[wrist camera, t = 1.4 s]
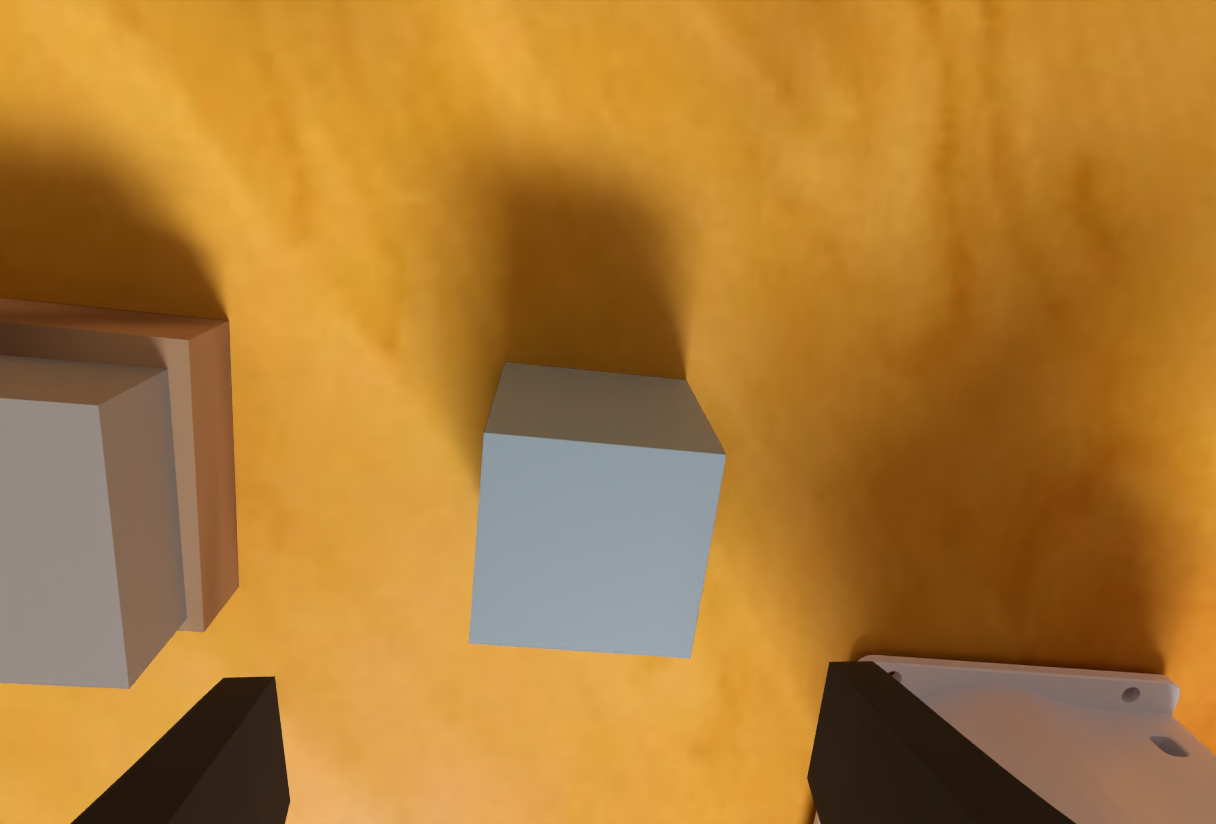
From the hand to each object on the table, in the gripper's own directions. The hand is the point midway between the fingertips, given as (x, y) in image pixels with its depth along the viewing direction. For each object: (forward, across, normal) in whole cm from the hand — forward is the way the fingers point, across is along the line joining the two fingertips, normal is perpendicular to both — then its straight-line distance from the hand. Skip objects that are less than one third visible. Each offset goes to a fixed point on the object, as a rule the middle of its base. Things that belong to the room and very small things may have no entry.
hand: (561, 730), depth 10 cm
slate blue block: (+10, -1, 0) cm, 10 cm away
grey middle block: (+8, +11, +1) cm, 14 cm away
